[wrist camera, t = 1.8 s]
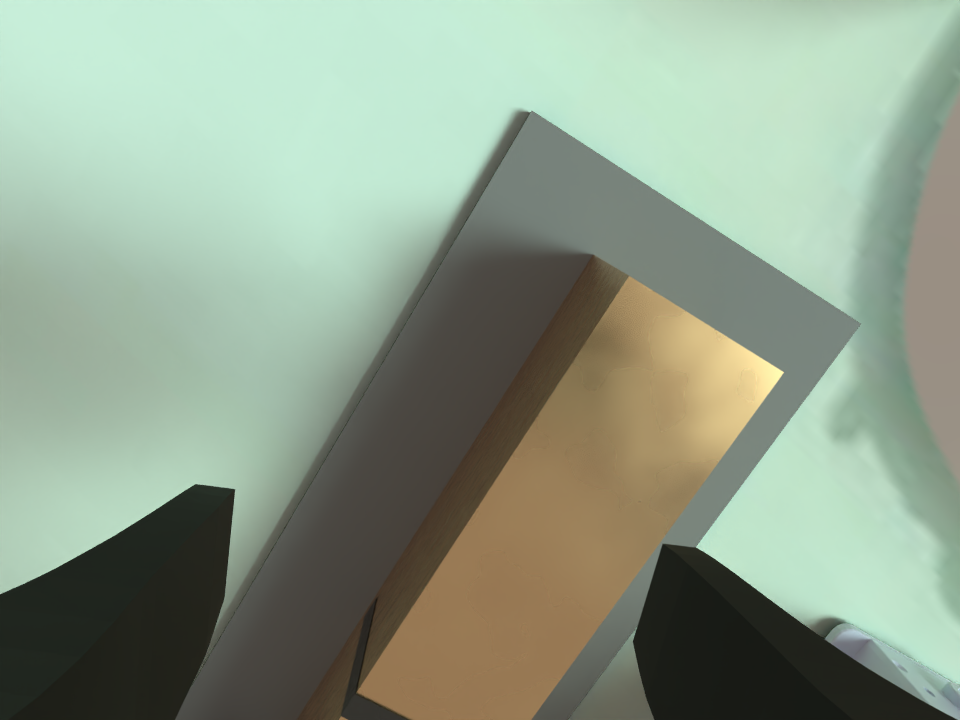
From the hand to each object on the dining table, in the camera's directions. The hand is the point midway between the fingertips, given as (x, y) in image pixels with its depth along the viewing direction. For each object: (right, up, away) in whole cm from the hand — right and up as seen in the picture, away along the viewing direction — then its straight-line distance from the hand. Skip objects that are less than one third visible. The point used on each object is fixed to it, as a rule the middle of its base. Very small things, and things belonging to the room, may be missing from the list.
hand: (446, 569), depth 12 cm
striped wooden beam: (+1, -3, +12) cm, 12 cm away
